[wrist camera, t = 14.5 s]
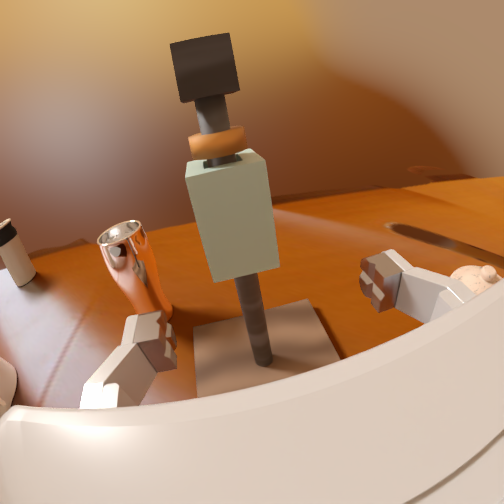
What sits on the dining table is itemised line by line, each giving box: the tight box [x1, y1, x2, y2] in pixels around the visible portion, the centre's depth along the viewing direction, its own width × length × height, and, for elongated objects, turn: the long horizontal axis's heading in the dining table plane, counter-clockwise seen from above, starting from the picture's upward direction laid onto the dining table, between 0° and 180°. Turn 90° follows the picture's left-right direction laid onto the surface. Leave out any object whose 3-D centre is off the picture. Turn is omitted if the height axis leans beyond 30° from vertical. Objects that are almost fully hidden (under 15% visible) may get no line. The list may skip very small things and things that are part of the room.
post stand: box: [170, 33, 340, 398], centre depth 22 cm, size 16×16×32 cm
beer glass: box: [97, 220, 173, 322], centre depth 37 cm, size 7×7×15 cm
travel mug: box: [0, 219, 36, 286], centre depth 55 cm, size 8×8×18 cm
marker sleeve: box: [185, 149, 280, 283], centre depth 20 cm, size 5×5×8 cm
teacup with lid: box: [424, 265, 502, 325], centre depth 23 cm, size 12×9×12 cm
